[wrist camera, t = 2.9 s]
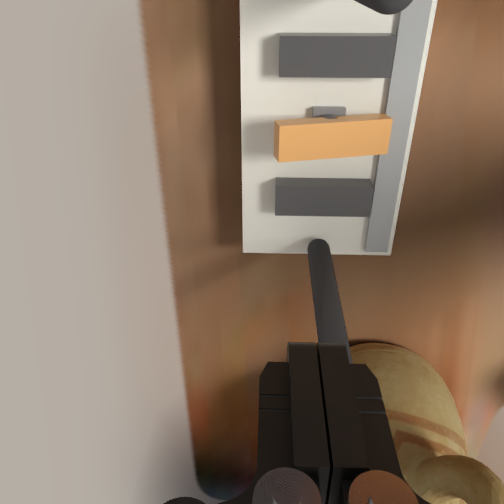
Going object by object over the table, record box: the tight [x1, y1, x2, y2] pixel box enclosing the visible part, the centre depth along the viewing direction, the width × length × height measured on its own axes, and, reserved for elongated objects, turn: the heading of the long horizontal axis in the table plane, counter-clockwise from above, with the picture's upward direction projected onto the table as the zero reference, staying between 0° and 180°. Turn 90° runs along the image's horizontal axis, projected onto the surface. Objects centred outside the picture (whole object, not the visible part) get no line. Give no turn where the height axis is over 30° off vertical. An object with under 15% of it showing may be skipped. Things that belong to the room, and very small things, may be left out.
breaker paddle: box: [274, 113, 393, 163], centre depth 29 cm, size 2×7×2 cm, turn 90°
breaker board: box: [240, 0, 437, 255], centre depth 31 cm, size 19×11×4 cm, turn 0°
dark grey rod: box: [307, 238, 353, 364], centre depth 29 cm, size 2×2×14 cm
